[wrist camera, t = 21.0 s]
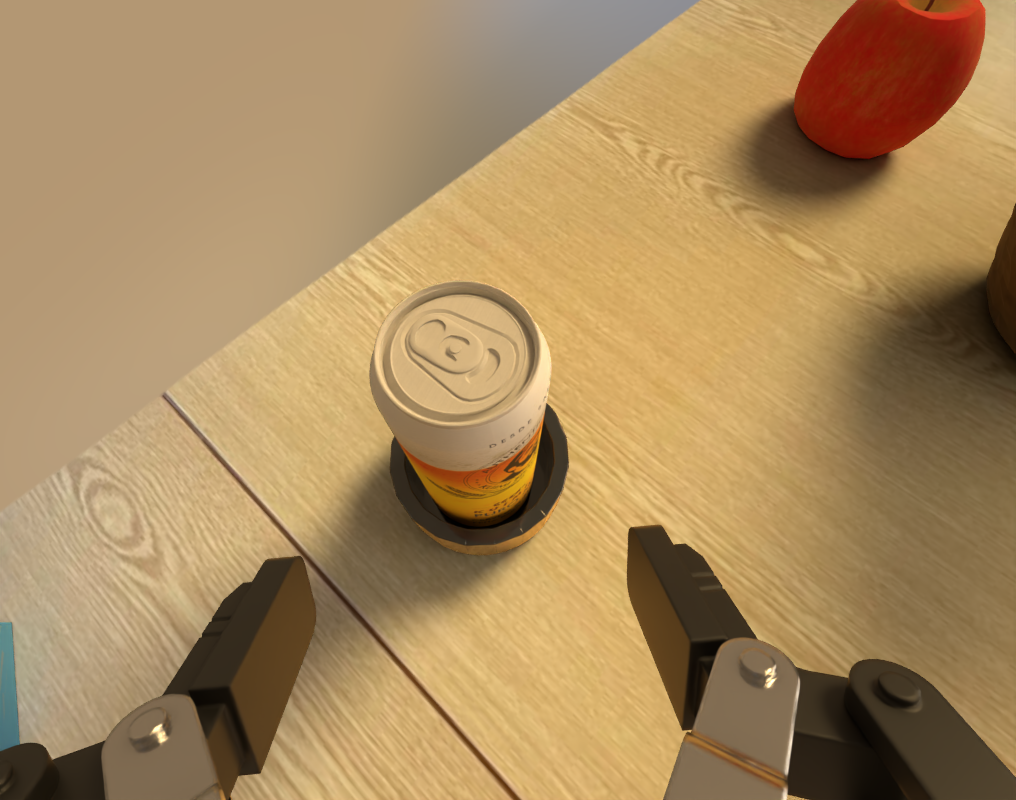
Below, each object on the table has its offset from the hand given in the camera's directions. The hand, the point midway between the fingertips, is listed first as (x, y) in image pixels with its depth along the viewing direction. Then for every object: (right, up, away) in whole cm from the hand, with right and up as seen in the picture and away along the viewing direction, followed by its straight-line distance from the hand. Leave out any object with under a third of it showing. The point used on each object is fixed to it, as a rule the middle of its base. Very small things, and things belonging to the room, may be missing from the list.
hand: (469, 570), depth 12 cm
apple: (+30, +27, +30) cm, 50 cm away
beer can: (-1, 0, +17) cm, 17 cm away
